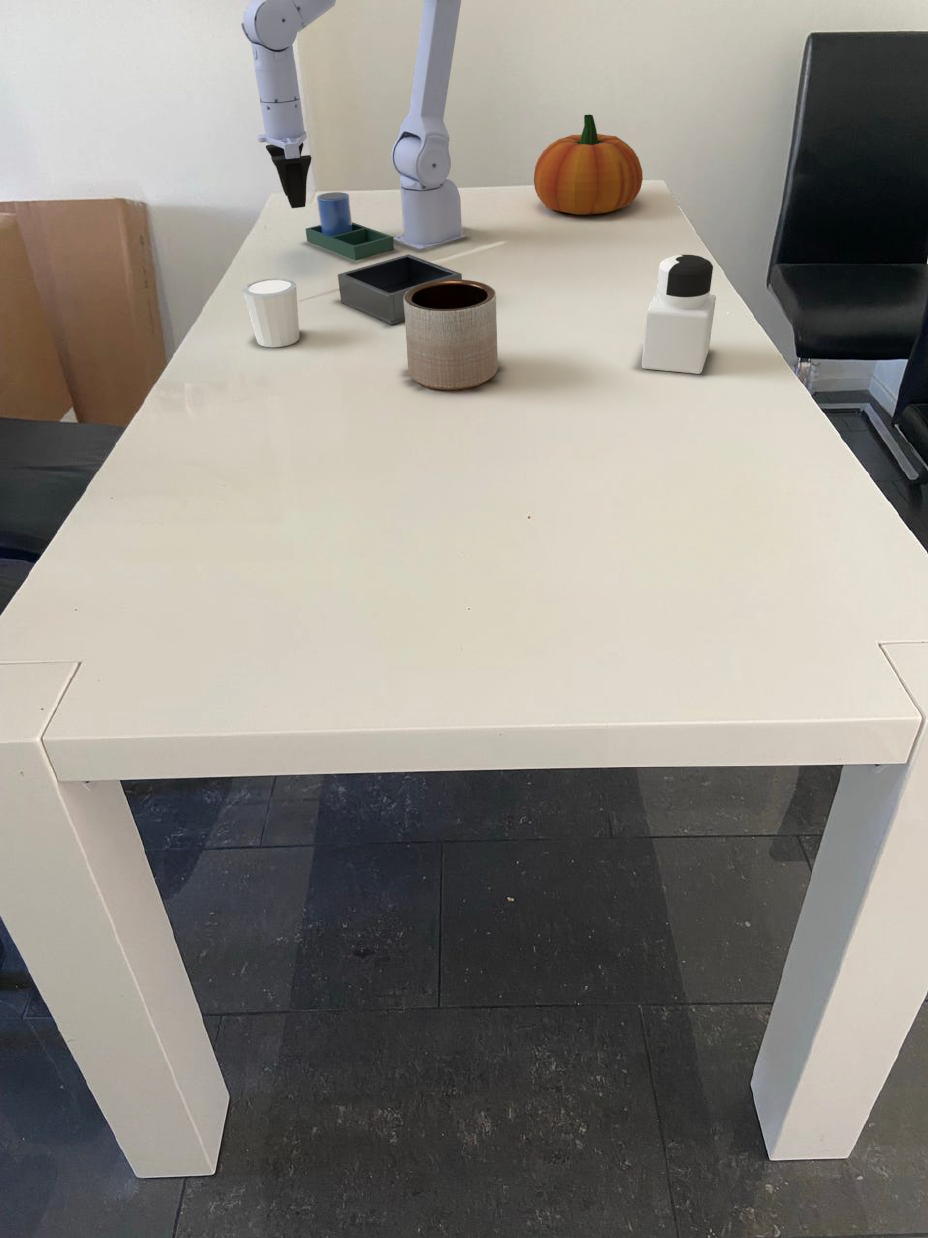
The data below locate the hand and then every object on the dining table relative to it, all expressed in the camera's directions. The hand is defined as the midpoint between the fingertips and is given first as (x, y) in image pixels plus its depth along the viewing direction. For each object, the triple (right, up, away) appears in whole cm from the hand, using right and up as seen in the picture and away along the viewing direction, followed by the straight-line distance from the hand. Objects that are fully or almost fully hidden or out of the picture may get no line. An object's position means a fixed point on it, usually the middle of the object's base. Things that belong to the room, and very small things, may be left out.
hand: (295, 200), depth 137 cm
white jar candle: (+1, -27, -17) cm, 32 cm away
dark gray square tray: (+17, -18, -8) cm, 26 cm away
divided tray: (+7, -2, +13) cm, 15 cm away
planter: (+25, -34, -28) cm, 51 cm away
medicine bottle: (+52, -33, -27) cm, 67 cm away
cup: (+5, 0, +15) cm, 15 cm away
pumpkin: (+48, +11, +26) cm, 56 cm away
